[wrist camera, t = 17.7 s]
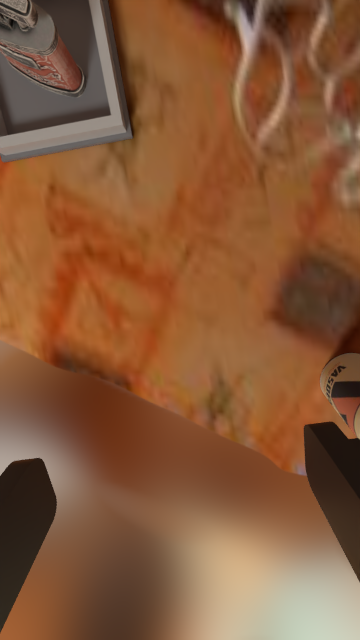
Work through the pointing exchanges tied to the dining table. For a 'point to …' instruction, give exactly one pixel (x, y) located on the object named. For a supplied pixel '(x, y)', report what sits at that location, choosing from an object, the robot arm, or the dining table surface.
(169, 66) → the dining table surface
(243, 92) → the dining table surface
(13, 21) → the lighter
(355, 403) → the coffee cup
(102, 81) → the tray
